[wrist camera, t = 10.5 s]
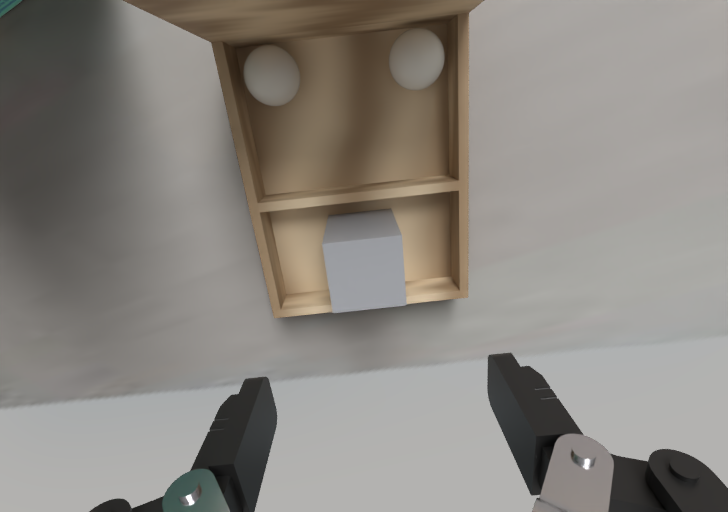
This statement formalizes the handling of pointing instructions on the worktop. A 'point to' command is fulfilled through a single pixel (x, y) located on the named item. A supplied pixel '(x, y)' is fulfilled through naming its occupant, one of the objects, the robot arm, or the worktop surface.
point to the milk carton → (7, 5)
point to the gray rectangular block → (364, 261)
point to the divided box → (345, 135)
